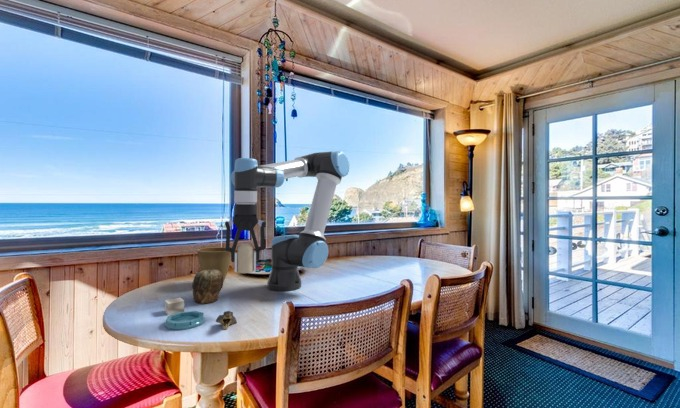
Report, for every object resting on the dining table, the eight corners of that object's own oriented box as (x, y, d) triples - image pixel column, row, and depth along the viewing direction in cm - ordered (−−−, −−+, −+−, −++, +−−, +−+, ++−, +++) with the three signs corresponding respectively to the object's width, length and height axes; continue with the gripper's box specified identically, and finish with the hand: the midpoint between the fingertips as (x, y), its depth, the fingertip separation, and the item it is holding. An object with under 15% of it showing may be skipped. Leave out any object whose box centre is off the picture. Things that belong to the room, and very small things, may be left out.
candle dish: (205, 315, 110) (205, 309, 110) (202, 327, 99) (202, 321, 99) (169, 318, 106) (169, 312, 106) (161, 331, 96) (161, 324, 96)
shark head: (236, 334, 98) (240, 312, 97) (213, 333, 96) (218, 310, 95) (236, 322, 105) (240, 301, 105) (215, 320, 103) (219, 300, 103)
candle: (247, 269, 117) (247, 241, 117) (256, 271, 113) (257, 242, 113) (233, 271, 113) (233, 242, 112) (243, 274, 109) (243, 244, 109)
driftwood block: (180, 308, 116) (180, 297, 116) (184, 312, 112) (184, 301, 112) (164, 311, 113) (164, 300, 113) (168, 315, 109) (168, 303, 109)
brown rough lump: (212, 306, 119) (213, 273, 119) (185, 304, 121) (186, 271, 121) (228, 297, 130) (229, 267, 129) (203, 295, 132) (204, 265, 132)
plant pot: (231, 287, 144) (231, 251, 144) (194, 289, 140) (194, 252, 140) (232, 279, 159) (233, 246, 158) (199, 280, 155) (200, 247, 154)
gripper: (272, 203, 119) (271, 267, 119) (217, 203, 113) (217, 269, 114) (274, 204, 112) (273, 271, 112) (216, 203, 106) (215, 274, 107)
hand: (245, 270), depth 113 cm, fingers closed on candle, 5 cm apart
